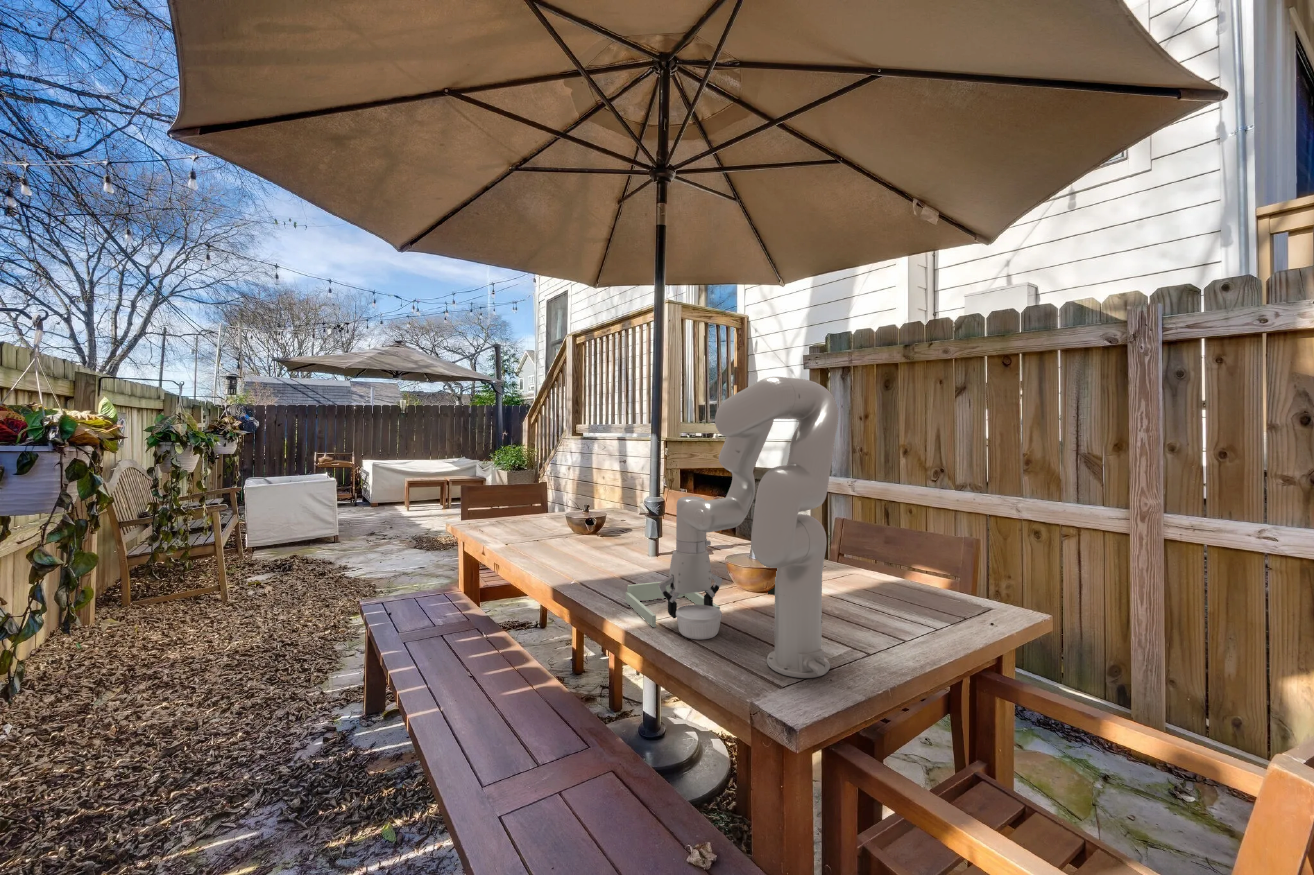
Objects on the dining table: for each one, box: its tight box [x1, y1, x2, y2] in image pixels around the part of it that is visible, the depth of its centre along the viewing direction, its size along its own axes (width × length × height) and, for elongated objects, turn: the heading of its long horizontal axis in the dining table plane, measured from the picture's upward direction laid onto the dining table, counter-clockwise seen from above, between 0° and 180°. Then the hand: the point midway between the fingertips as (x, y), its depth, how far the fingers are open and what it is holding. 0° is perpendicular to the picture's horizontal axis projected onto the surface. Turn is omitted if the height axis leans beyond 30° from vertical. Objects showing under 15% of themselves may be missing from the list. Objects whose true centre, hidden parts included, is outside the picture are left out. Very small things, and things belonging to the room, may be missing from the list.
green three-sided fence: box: [625, 580, 721, 628], centre depth 150 cm, size 21×19×5 cm
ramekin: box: [676, 604, 723, 640], centre depth 133 cm, size 11×11×5 cm
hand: (690, 614), depth 138 cm, fingers open, 9 cm apart
